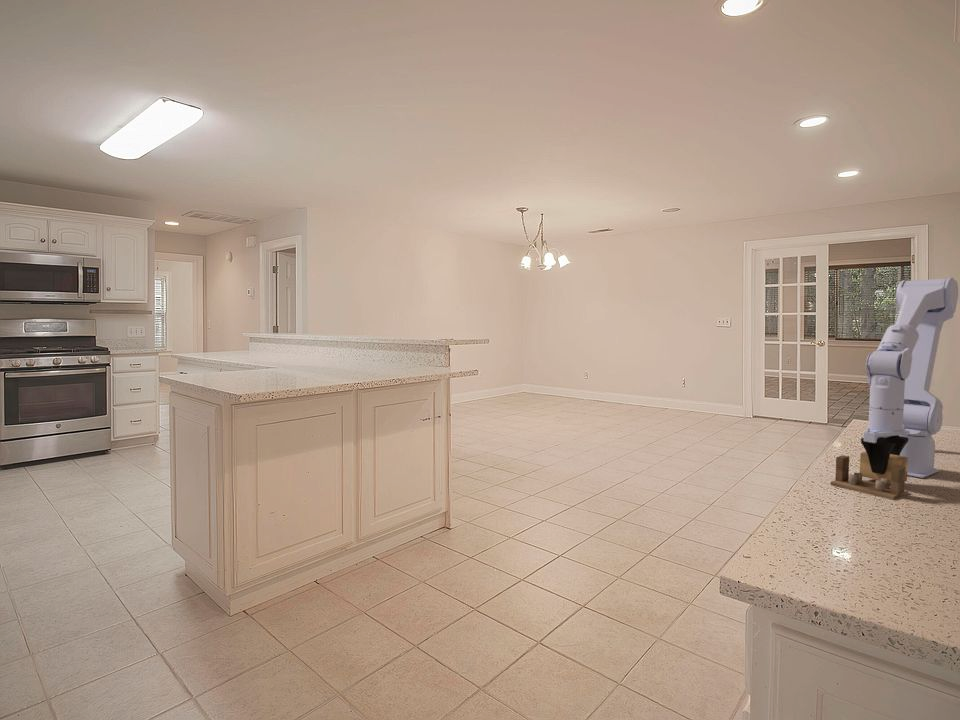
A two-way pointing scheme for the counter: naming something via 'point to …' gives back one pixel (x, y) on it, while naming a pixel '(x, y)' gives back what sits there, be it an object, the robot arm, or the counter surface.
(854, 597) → the counter surface
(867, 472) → the block
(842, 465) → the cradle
